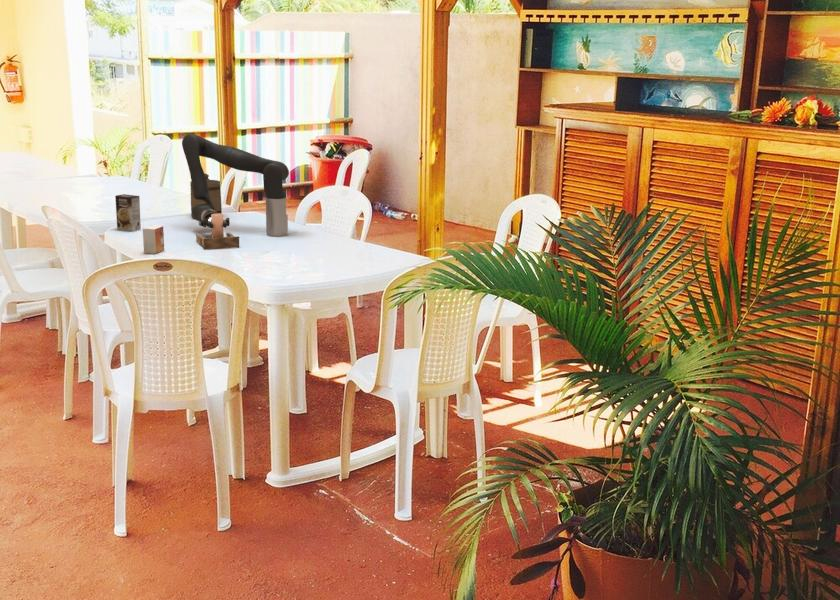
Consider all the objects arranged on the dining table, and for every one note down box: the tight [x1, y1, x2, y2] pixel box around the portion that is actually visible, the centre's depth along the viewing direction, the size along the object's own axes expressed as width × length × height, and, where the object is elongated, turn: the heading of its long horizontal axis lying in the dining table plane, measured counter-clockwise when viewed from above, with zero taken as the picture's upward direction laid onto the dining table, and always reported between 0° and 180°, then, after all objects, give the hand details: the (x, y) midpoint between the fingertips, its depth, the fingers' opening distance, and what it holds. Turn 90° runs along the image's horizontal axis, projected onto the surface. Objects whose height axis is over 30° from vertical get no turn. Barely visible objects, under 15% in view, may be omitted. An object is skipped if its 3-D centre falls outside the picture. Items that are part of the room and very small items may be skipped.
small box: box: [142, 225, 165, 255], centre depth 396 cm, size 8×6×10 cm
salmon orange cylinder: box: [211, 213, 224, 238], centre depth 411 cm, size 5×5×12 cm
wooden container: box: [189, 173, 223, 220], centre depth 471 cm, size 15×15×22 cm
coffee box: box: [115, 193, 142, 232], centre depth 438 cm, size 9×6×16 cm
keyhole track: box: [195, 232, 240, 251], centre depth 414 cm, size 15×18×5 cm
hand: (218, 225), depth 408 cm, fingers closed on salmon orange cylinder, 5 cm apart
